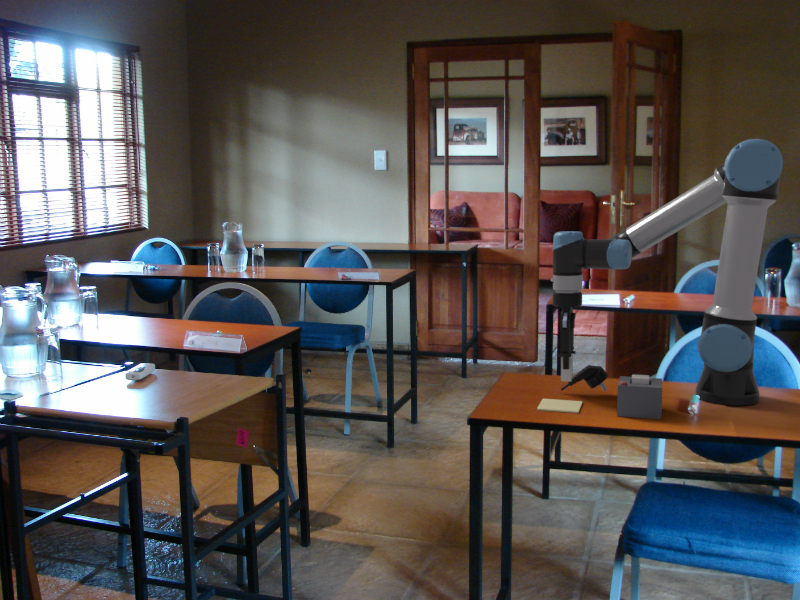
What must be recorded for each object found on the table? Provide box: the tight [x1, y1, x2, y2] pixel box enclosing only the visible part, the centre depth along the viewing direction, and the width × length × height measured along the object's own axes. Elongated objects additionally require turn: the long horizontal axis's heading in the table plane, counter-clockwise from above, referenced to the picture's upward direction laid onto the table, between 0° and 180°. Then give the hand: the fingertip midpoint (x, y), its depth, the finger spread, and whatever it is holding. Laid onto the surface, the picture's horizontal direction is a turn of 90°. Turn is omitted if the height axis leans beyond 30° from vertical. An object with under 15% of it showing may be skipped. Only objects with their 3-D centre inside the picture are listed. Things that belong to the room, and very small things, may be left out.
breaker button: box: [631, 374, 650, 385], centre depth 187 cm, size 4×4×4 cm
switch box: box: [616, 375, 663, 420], centre depth 188 cm, size 10×10×8 cm
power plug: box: [560, 364, 609, 392], centre depth 204 cm, size 6×8×12 cm
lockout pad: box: [536, 398, 583, 414], centre depth 194 cm, size 10×10×1 cm
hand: (566, 379), depth 205 cm, fingers closed on power plug, 2 cm apart
